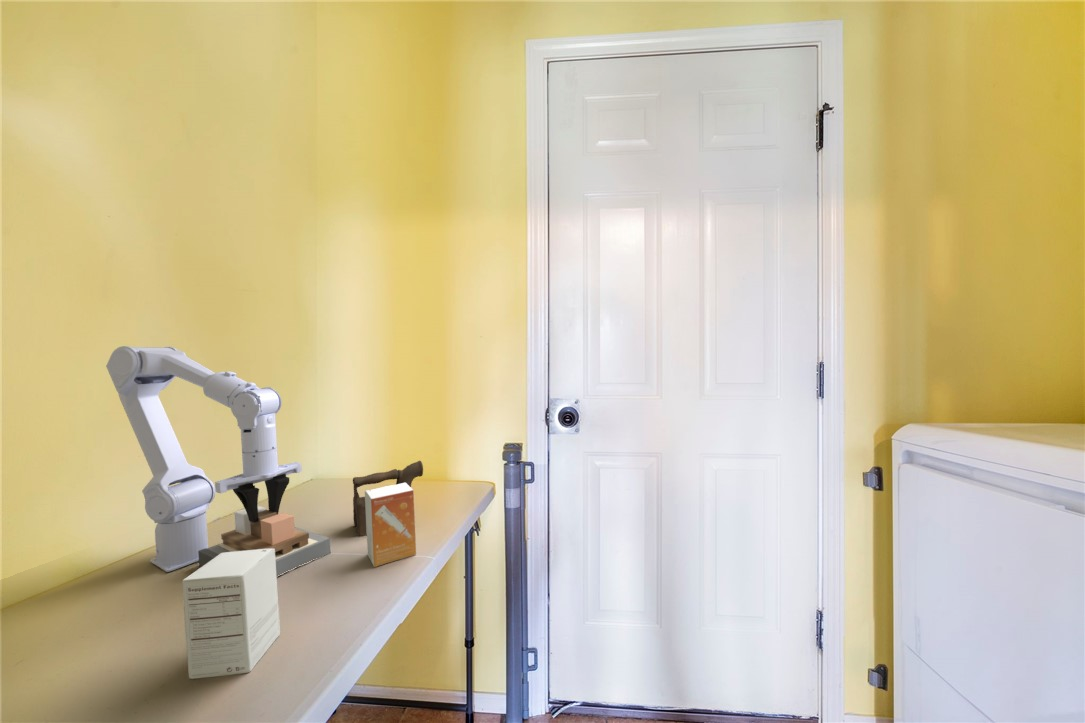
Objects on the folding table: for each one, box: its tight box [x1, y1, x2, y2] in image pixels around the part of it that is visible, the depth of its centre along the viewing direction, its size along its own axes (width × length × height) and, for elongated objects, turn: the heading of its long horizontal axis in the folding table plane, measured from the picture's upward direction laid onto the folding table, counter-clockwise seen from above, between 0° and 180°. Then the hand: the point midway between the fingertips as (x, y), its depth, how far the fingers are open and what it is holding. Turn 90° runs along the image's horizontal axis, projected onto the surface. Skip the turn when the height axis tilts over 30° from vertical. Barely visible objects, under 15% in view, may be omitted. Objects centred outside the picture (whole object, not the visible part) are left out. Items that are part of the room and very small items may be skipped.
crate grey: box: [234, 505, 267, 535], centre depth 83 cm, size 4×4×4 cm
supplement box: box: [181, 548, 281, 680], centre depth 54 cm, size 7×7×13 cm
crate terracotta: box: [261, 512, 296, 545], centre depth 78 cm, size 4×4×4 cm
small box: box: [364, 483, 417, 568], centre depth 80 cm, size 8×6×13 cm
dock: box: [198, 526, 331, 576], centre depth 80 cm, size 19×15×3 cm
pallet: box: [220, 509, 309, 554], centre depth 80 cm, size 17×8×6 cm, turn 59°
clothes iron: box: [352, 460, 424, 537], centre depth 96 cm, size 8×16×13 cm, turn 121°
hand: (263, 517), depth 80 cm, fingers closed on pallet, 3 cm apart
